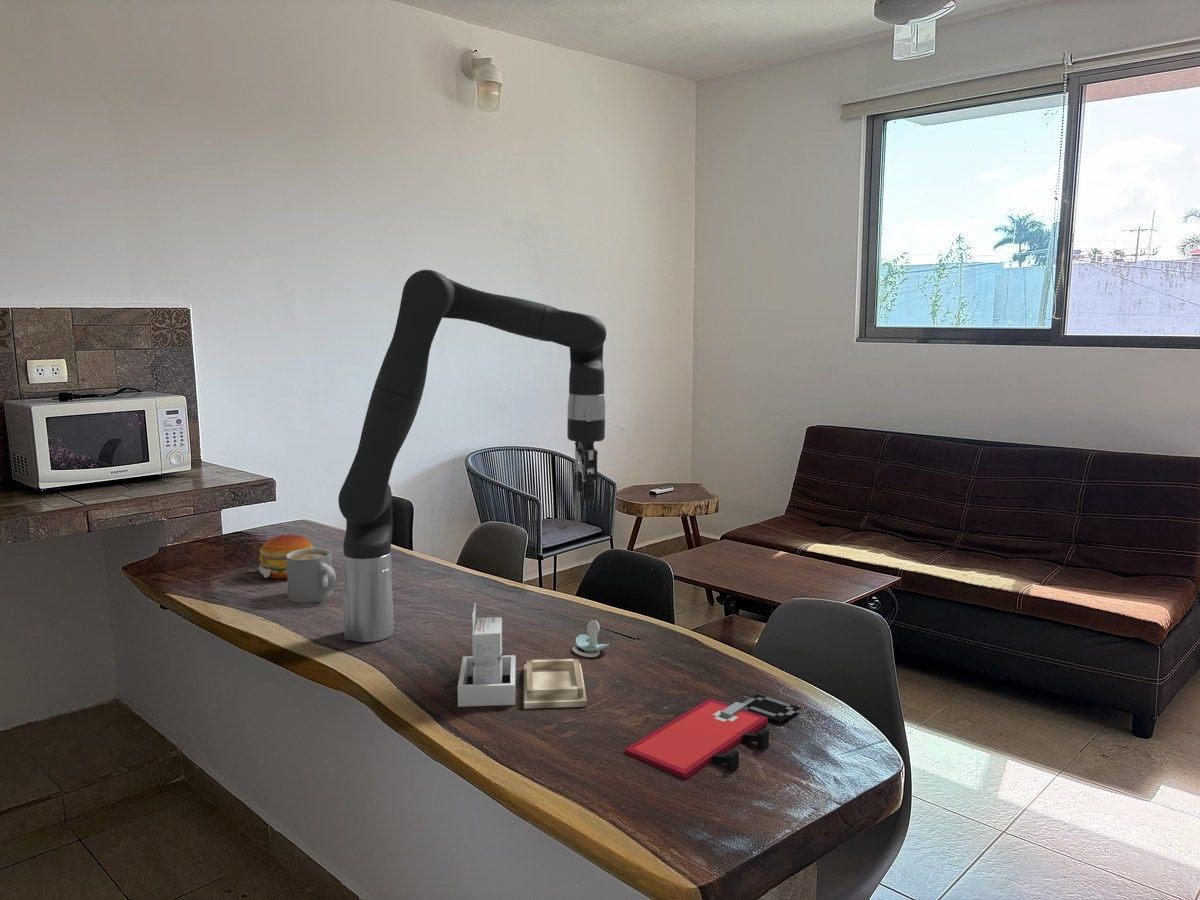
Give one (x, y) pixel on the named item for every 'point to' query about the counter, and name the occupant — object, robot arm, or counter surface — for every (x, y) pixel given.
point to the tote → (487, 685)
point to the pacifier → (592, 645)
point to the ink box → (487, 649)
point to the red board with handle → (710, 735)
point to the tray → (554, 684)
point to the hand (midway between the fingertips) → (585, 495)
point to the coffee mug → (310, 575)
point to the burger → (279, 554)
